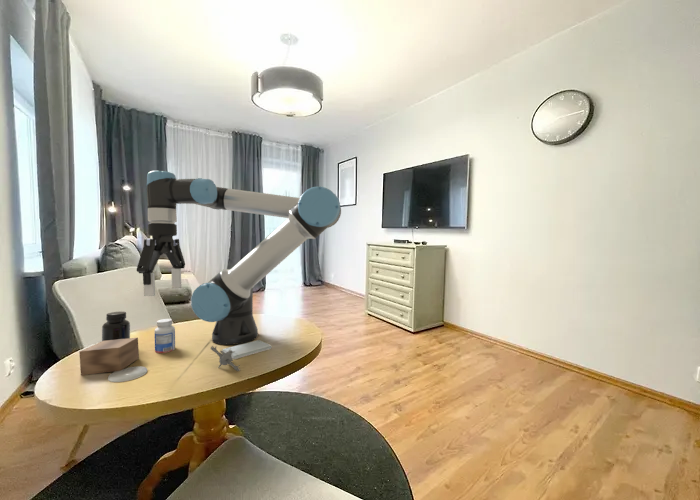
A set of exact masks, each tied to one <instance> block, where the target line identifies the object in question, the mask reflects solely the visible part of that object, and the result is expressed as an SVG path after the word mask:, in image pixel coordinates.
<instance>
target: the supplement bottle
mask: <svg viewBox="0 0 700 500" xmlns="http://www.w3.org/2000/svg"><path fill="white" fill-rule="evenodd" d="M105 320H106V322H104V323H103V324H102V327H101V341H107V340H118V339H128V338H131V322H130V321H129V320H127V312H126V311H112V312H108V313H106V318H105Z"/></svg>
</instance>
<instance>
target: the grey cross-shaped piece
mask: <svg viewBox="0 0 700 500" xmlns="http://www.w3.org/2000/svg"><path fill="white" fill-rule="evenodd" d="M209 348H210V350H211V351H212V352H214V353H215V354H216V355H217V356H218V357H219V365H218V367H217V368H218V369H219V368H220V367H221V366H228V365H229V366H230V367H232V368H233V370H235V371H236V372H240V371H241V368H239V367H240V365H241V364H240V365H235V364H234V362H233V361H234V359H233V358H232V357H231V355H232V354H233V353H234V352H235V351H234V352H232V350H231V348H230V350H229V351H228V352H227V353H224V352H223V351H222V350H220V352H219V351H218V349H217V346H215V347H214V346H213V345H211V346H210V347H209Z"/></svg>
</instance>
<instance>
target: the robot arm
mask: <svg viewBox="0 0 700 500" xmlns="http://www.w3.org/2000/svg"><path fill="white" fill-rule="evenodd" d="M145 187H146V195H147V221H148V222H149V223H148V224H147V235H148V236H149V237H151V238H144V239H143V247H142V251H141V253H140V257H139V260H138V264H137V266H136V272H137V273H138V274H142V284H143V297H155V296H156V282H155V281H156V277H155V275H156V274H155V272H153V271H154V270H155V267H156V266H157V264H158V261H159V259H160V258H161V256H162V255H166V257H167V259H168V261H169V263H170V264H171V266H172V268H171V271H170V272H171V289H182V269H184V268H185V266H186V263H185V259H184V255H183V252H182V248H181V245H180V239H179V238H174V237H176V236H177V235H178V232H177V231H178V229H177V228H178V225H177V224H176V223H177V221H178V220H177V219H178V218H177V204H179V205H181V204H182V205H183V204H186V205H198V206H202V207H205V208H206V207H207V208H210V209H214V210H217V211H218V210H219V211H220V210H223V211H233V212H240V213H247V214H253V215H254V214H255V215H262V216H263V215H264V216H269V217H276V218H277V217H278V218H283V219H285V220H284V221H283V222H282V223H281V224H280V225H278V226H277V227H276V228H275V229H274V230H273V231H272V232H271V233H269V234H268V235H267V236H266V237H265V238H264V239H263V240H262V241H261V242H260V243H258V244H257V245H256V246H255V247H253V249H252V250H250V251H249V252H248V253H247V254H246V255H245V256H243V258H242V259H240V260H239V261H238V262H237V263H236V264H235V265H234V266H233V267H231V268H224V269H221V271H219V272H218V273H217V274H216V275H215V276H214V277H213V278H211V279H210V280H209V281H208V282H205V283H202V284H199V285H198V286H197V287H196V288H195V290H194V291H193V292H192V294H191V298H190V306H191V310H192V311H193V313H194V315H196V316H197V318H199V319H200V320H202V321H204V322H208V323H215V325H214V327H213V331H212V334H211V341H212V343H214V344H218V345H226V346H228V345H230V346H231V345H241V344H245V343H249V342H252V341H255V339H257V337H258V336H259V335H258V334H259V331H258V329H259V328H258V326H257V324H256V321H255V318H254V314H253V312H254V311H253V308H254V307H253V305H254V304H253V303H254V301H253V299H254V298H253V293H254V290H253V289H254V287H255V286H256V285H257V284H258V283H259V282H260V281H261V280H263V279H264V278H265V277H266V276H267V275H269V274H270V273H271V272H272V271H273V270H274V269H275V268H276V267H278V265H280V264H281V263H282V262H283V261H284V260H285V259H287V258H288V257H289V256H290V255H291V254H293V252H294V251H296V250H297V248H299V247H300V246H301V245H303V243H305V242H306V241H307V240H308V239H311V240H312V239H313V240H315V239H317V237H318V236H320V235H321V234H322V233H323V232H325V230H327V229H328V228H331V227H333V226H334V225H336V224H337V222H339V220H340V218H341V214H342V207H341V202H340V199H339V197H338V196H337V195H336V193H334V192H333V191H332V190H331V189H329V188H326V187H324V186H312V187H309V188H308V189H306V190H305V191H304V192H303V193H302V194H301V195H300V197H296V196H290V195H288V196H287V195H280V194H272V193H266V192H265V193H264V192H257V191H249V190H241V189H234V188H227V187H221V186H220V187H219V186H217V185H216V184H215V183H214V181H213V180H212V179H210V178H201V177H199V178H198V177H197V178H177V177H176V175H175V173H173V172H171V171H164V170H151V171H149V172H148V173H147V175H146V186H145Z"/></svg>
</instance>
